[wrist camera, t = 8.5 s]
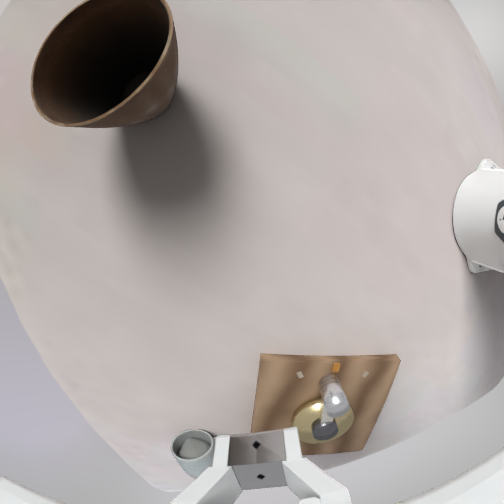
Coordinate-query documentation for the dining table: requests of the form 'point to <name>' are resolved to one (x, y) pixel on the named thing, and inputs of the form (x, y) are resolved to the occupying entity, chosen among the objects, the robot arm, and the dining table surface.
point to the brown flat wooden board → (306, 387)
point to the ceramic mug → (194, 451)
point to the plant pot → (107, 65)
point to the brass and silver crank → (324, 413)
